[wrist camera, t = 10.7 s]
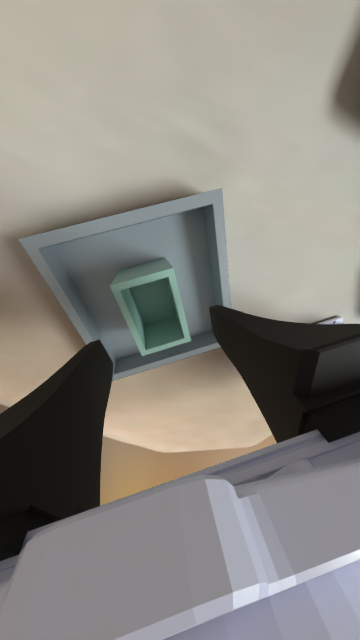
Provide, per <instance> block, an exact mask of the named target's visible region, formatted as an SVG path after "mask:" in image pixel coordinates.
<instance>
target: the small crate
mask: <svg viewBox="0 0 360 640" xmlns="http://www.w3.org/2000/svg"><path fill="white" fill-rule="evenodd" d="M110 288H111V290H112V292H113V294H114V296H115V299H116V301H117V303H118V305H119V307H120V309H121V312H122V314H123V316H124V318H125V320H126V323H127V325H128V327H129V329H130V331H131V333H132V336H133V338H134V340H135V342H136V344H137V347H138V349H139V351H140V353H141V355H142V356H144V355H148V354H151V353H154V352H157V351H161V350H164V349H167V348H170V347H173V346H177V345H180V344H183V343H186V342H189V341H191V338H190V334H189V329H188V325H187V321H186V317H185V313H184V309H183V305H182V301H181V297H180V293H179V288H178V284H177V280H176V276H175V272H174V268H173V267H172V265H171V264H170V263H169V262H168V261H167V259H166V258H163V259H159V260H155V261H152V262H148V263H145V264H141V265H137V266H134V267H130V268H127V269H123V270H119V271H118V273H117V275H116V276H115V278H114V280H113V281H112V283H111V285H110Z"/></svg>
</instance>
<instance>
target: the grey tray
mask: <svg viewBox="0 0 360 640" xmlns="http://www.w3.org/2000/svg"><path fill="white" fill-rule="evenodd" d="M18 240H19V242H20V243H21V245H22V246H23V248H24V249H25V251H26V253H27V254H28V256H29V257H30V259H31V260H32V262H33V263H34V265H35V266H36V268H37V270H38V271H39V273H40V274H41V276H42V277H43V279H44V280H45V282H46V283H47V285H48V287H49V288H50V290H51V291H52V293H53V294H54V296H55V297H56V299H57V301H58V302H59V304H60V305H61V307H62V308H63V310H64V311H65V313H66V314H67V316H68V318H69V319H70V321H71V322H72V324H73V325H74V327H75V328H76V330H77V331H78V333H79V335H80V336H81V338H82V339H83V341H84V342H85V344H86V345H87V344H88V343H90V342H92V341H96V340H99V339H100V341H101V343H102V344H103V346H104V348H105V349H106V351H107V353H108V355H109V356H110V358H111V360H112V361H113V378H112V381H114V380H117V379H120V378H124V377H127V376H130V375H133V374H136V373H140V372H143V371H146V370H149V369H152V368H156V367H159V366H162V365H165V364H169V363H172V362H175V361H178V360H181V359H185V358H188V357H191V356H194V355H197V354H201V353H204V352H207V351H210V350H213V349H217V348H220V345H219V344H218V342H217V340H216V338H215V336H214V334H213V331H212V324H211V318H210V311H209V307H212V306H215V305H221V306H225V307H228V308H230V309H231V300H230V287H229V273H228V260H227V247H226V234H225V221H224V207H223V194H222V188H220V189H216V190H212V191H208V192H204V193H200V194H196V195H192V196H188V197H184V198H180V199H176V200H172V201H168V202H164V203H160V204H156V205H152V206H148V207H144V208H140V209H136V210H132V211H128V212H124V213H120V214H116V215H112V216H108V217H104V218H100V219H96V220H92V221H88V222H84V223H80V224H76V225H72V226H68V227H64V228H60V229H56V230H52V231H48V232H44V233H40V234H36V235H32V236H28V237H24V238H20V239H18ZM163 258H166V259H167V261H168V262H169V263H170V264H171V265H172V267H173V268H174V272H175V276H176V280H177V284H178V288H179V293H180V297H181V301H182V305H183V309H184V313H185V317H186V321H187V325H188V329H189V334H190V338H191V341H189V342H186V343H183V344H180V345H177V346H173V347H170V348H167V349H164V350H161V351H157V352H154V353H151V354H148V355H144V356H142V355H141V353H140V351H139V349H138V347H137V344H136V342H135V340H134V338H133V336H132V333H131V331H130V329H129V327H128V325H127V323H126V320H125V318H124V316H123V314H122V312H121V309H120V307H119V305H118V303H117V301H116V299H115V296H114V294H113V292H112V290H111V288H110V285H111V283H112V281H113V280H114V278H115V276H116V275H117V273H118V271H119V270H123V269H127V268H130V267H134V266H137V265H141V264H145V263H148V262H152V261H155V260H159V259H163Z"/></svg>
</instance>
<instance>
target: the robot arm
mask: <svg viewBox="0 0 360 640" xmlns="http://www.w3.org/2000/svg"><path fill="white" fill-rule="evenodd" d="M209 311H210V318H211V324H212V331H213V334H214V336H215V338H216V340H217V342H218V344H219V345H220V347H221V348H222V349H223V351H224V352H225V354H226V355H227V356H228V358H229V359H230V360H231V362H232V363H233V365H234V366H235V367H236V369H237V370H238V372H239V373H240V375H241V376H242V378H243V380H244V382H245V383H246V385H247V387H248V388H249V390H250V392H251V394H252V396H253V398H254V399H255V401H256V403H257V405H258V407H259V409H260V410H261V412H262V414H263V416H264V418H265V420H266V422H267V424H268V426H269V428H270V430H271V432H272V434H273V436H274V438H275V440H276V442H277V444H274V445H271V446H268V447H266V448H263V449H260V450H257V451H254V452H252V453H249V454H246V455H243V456H240V457H237V458H234V459H232V460H229V461H226V462H223V463H220V464H217V465H215V466H212V467H209V468H206V469H203V470H200V471H198V472H195V473H192V474H189V475H186V476H183V477H181V478H178V479H175V480H172V481H169V482H167V483H164V484H161V485H158V486H155V487H152V488H150V489H147V490H144V491H141V492H138V493H135V494H133V495H130V496H127V497H124V498H121V499H118V500H116V501H113V502H110V503H107V504H104V505H102V506H100V471H101V450H102V437H103V427H104V418H105V412H106V407H107V402H108V398H109V393H110V388H111V383H112V378H113V361H112V360H111V358H110V356H109V355H108V353H107V351H106V349H105V348H104V346H103V344H102V343H101V341H100V339H99V340H96V341H92V342H90V343H88V344H87V345H86V346H84V347H83V348H82V349H81V350H80V351H79V352H78V353H77V354H76V355H74V356H73V357H72V358H71V359H70V360H69V361H68V362H67V363H66V364H65V365H64V366H63V367H61V368H60V369H59V370H58V371H57V372H56V373H54V374H53V375H52V376H51V377H50V378H49V379H48V380H46V381H45V382H44V383H43V384H41V385H40V386H39V387H38V388H36V389H35V390H34V391H32V392H31V393H30V394H28V395H27V396H26V397H24V398H23V399H22V400H20V401H19V402H17V403H16V404H14V405H13V406H11V407H10V408H8V409H7V410H6V411H4V412H3V413H1V414H0V640H360V324H343V323H342V322H343V318H342V317H336V318H333V319H330V320H326V321H323V322H320V323H317V324H307V323H294V322H285V321H278V320H272V319H266V318H261V317H257V316H253V315H249V314H246V313H243V312H239V311H236V310H233V309H230V308H228V307H225V306H221V305H215V306H212V307H209Z"/></svg>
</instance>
